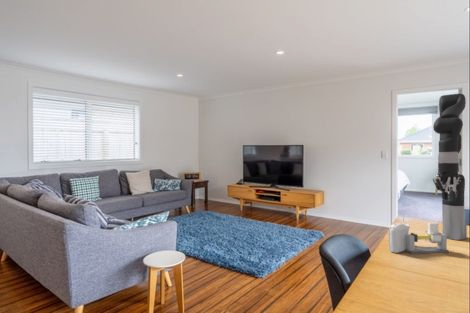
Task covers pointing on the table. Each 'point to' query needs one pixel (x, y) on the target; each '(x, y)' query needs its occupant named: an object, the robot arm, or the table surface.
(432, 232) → the white stepped block
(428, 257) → the table surface
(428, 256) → the table surface
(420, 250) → the slider rail
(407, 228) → the smoothie
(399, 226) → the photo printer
